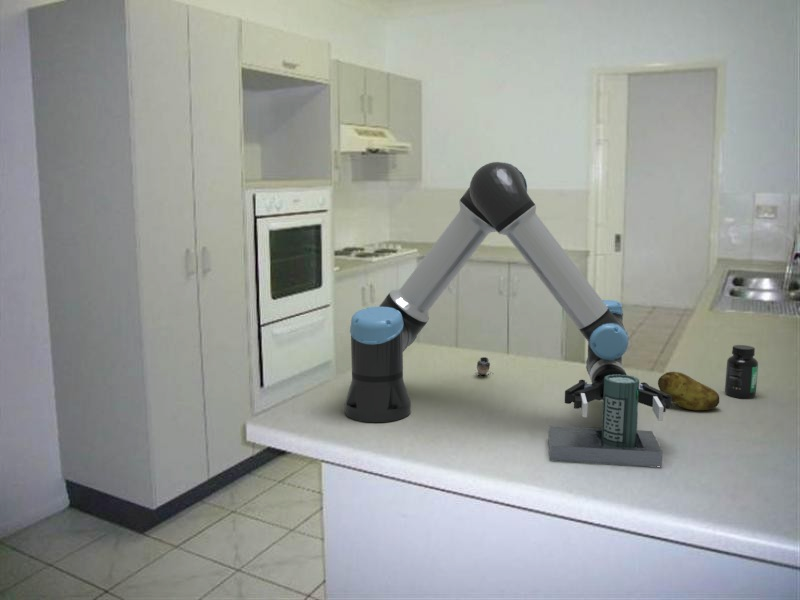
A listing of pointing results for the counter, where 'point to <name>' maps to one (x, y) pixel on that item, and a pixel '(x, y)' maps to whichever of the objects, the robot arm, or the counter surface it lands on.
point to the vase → (483, 366)
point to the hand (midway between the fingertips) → (622, 412)
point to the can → (620, 411)
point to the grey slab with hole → (601, 447)
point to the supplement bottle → (741, 373)
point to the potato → (688, 391)
